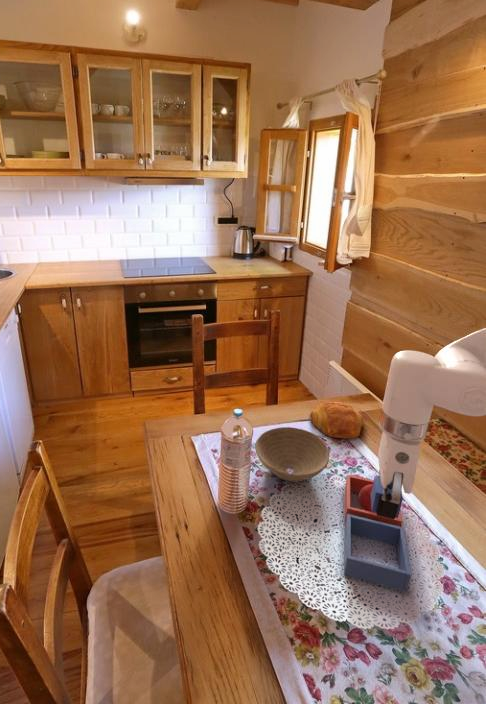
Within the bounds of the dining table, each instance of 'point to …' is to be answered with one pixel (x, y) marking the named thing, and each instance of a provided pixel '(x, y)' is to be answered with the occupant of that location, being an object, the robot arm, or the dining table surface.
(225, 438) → the water bottle
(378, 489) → the blue block
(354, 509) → the terracotta bin
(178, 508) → the dining table surface
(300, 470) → the bowl
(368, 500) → the onion
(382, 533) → the blue bin
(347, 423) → the croissant
